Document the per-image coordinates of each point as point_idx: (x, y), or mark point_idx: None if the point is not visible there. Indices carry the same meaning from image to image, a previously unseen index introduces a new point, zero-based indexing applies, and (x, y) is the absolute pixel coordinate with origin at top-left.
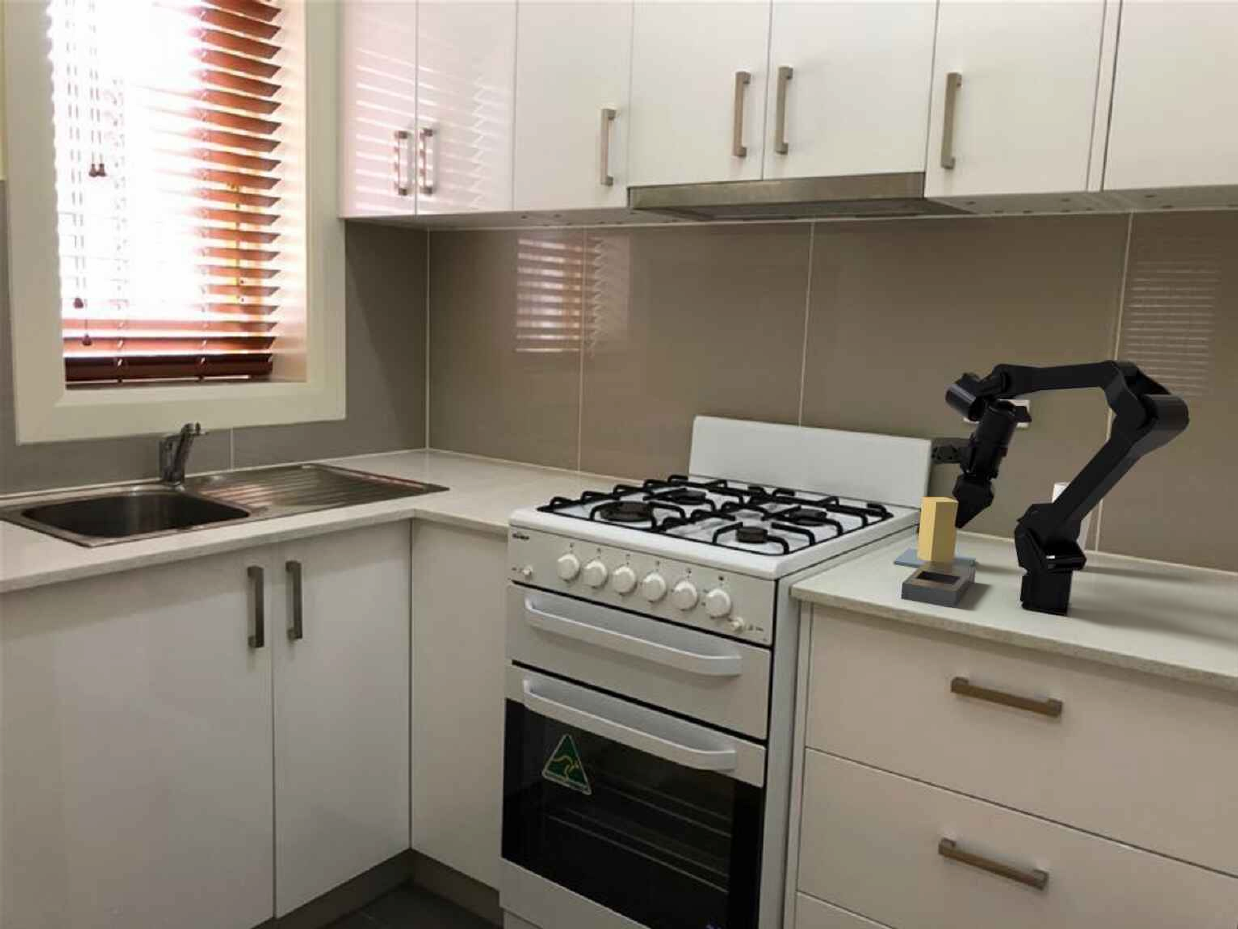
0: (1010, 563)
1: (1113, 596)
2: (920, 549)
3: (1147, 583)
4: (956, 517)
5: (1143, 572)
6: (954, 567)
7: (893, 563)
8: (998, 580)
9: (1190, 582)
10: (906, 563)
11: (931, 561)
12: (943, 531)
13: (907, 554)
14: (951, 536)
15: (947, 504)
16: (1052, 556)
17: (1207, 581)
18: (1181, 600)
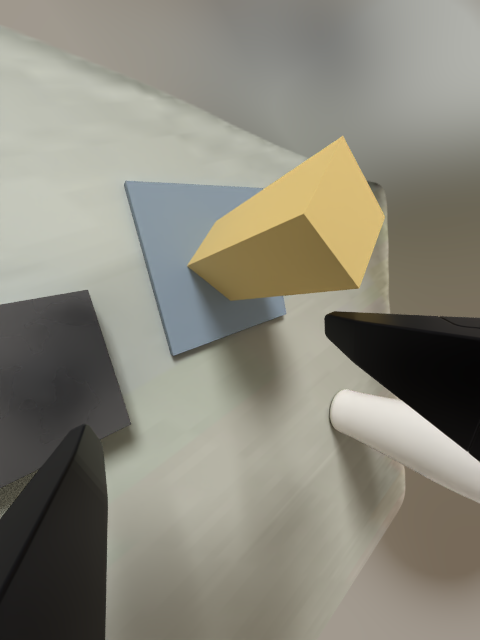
0: (309, 355)
1: (251, 576)
2: (219, 223)
3: (338, 514)
4: (14, 506)
5: (370, 468)
6: (69, 392)
7: (124, 184)
8: (192, 420)
9: (367, 521)
10: (135, 218)
11: (84, 306)
12: (251, 270)
13: (216, 197)
14: (259, 289)
15: (324, 256)
16: (344, 403)
17: (378, 522)
18: (300, 608)
